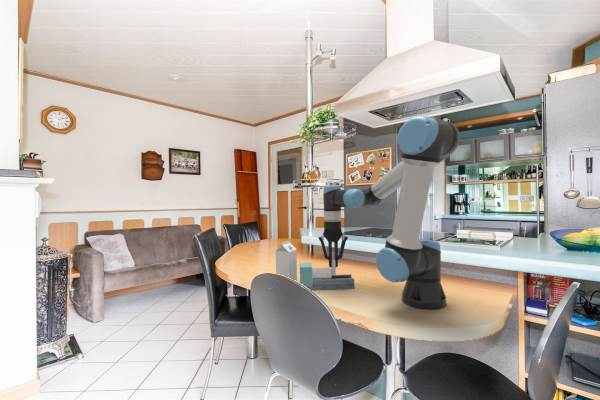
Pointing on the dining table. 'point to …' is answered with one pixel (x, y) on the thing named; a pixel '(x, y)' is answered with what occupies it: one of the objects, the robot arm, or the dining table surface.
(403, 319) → the dining table surface
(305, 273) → the socket housing
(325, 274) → the sliding block
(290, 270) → the milk carton
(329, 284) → the guide channel
